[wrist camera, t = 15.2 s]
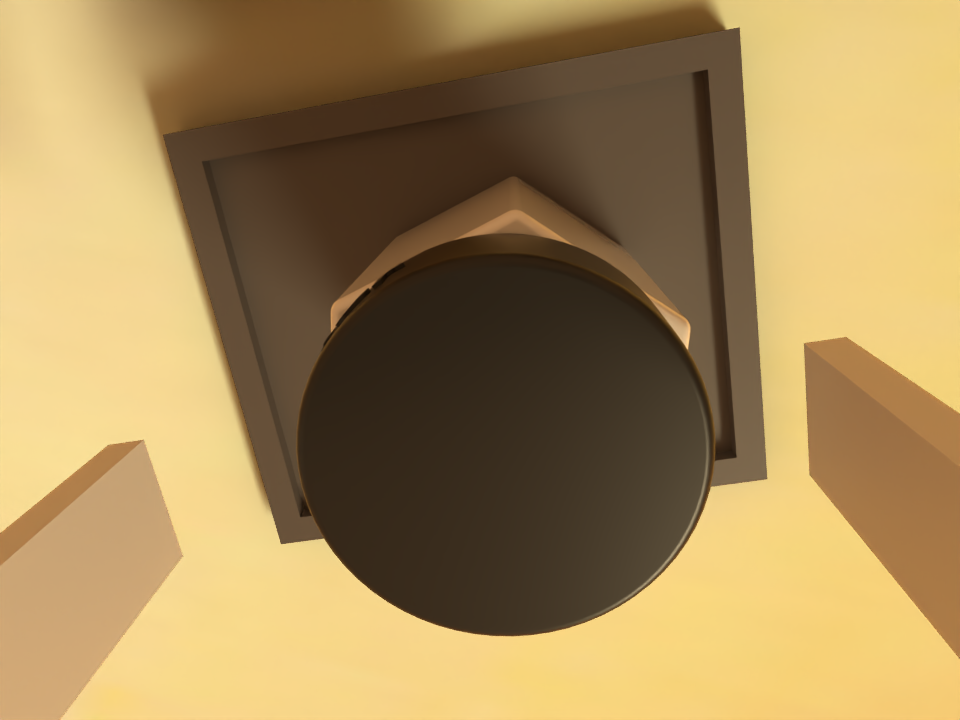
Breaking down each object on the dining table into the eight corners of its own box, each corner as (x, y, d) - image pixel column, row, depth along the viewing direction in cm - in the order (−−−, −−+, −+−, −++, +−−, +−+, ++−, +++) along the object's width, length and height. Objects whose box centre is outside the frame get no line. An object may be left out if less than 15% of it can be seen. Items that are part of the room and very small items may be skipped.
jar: (387, 169, 24) (279, 217, 13) (638, 181, 24) (753, 240, 13) (386, 423, 27) (296, 646, 16) (611, 435, 27) (686, 670, 16)
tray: (728, 31, 23) (739, 27, 22) (756, 464, 28) (767, 479, 27) (178, 133, 25) (163, 135, 24) (290, 527, 29) (281, 544, 28)
